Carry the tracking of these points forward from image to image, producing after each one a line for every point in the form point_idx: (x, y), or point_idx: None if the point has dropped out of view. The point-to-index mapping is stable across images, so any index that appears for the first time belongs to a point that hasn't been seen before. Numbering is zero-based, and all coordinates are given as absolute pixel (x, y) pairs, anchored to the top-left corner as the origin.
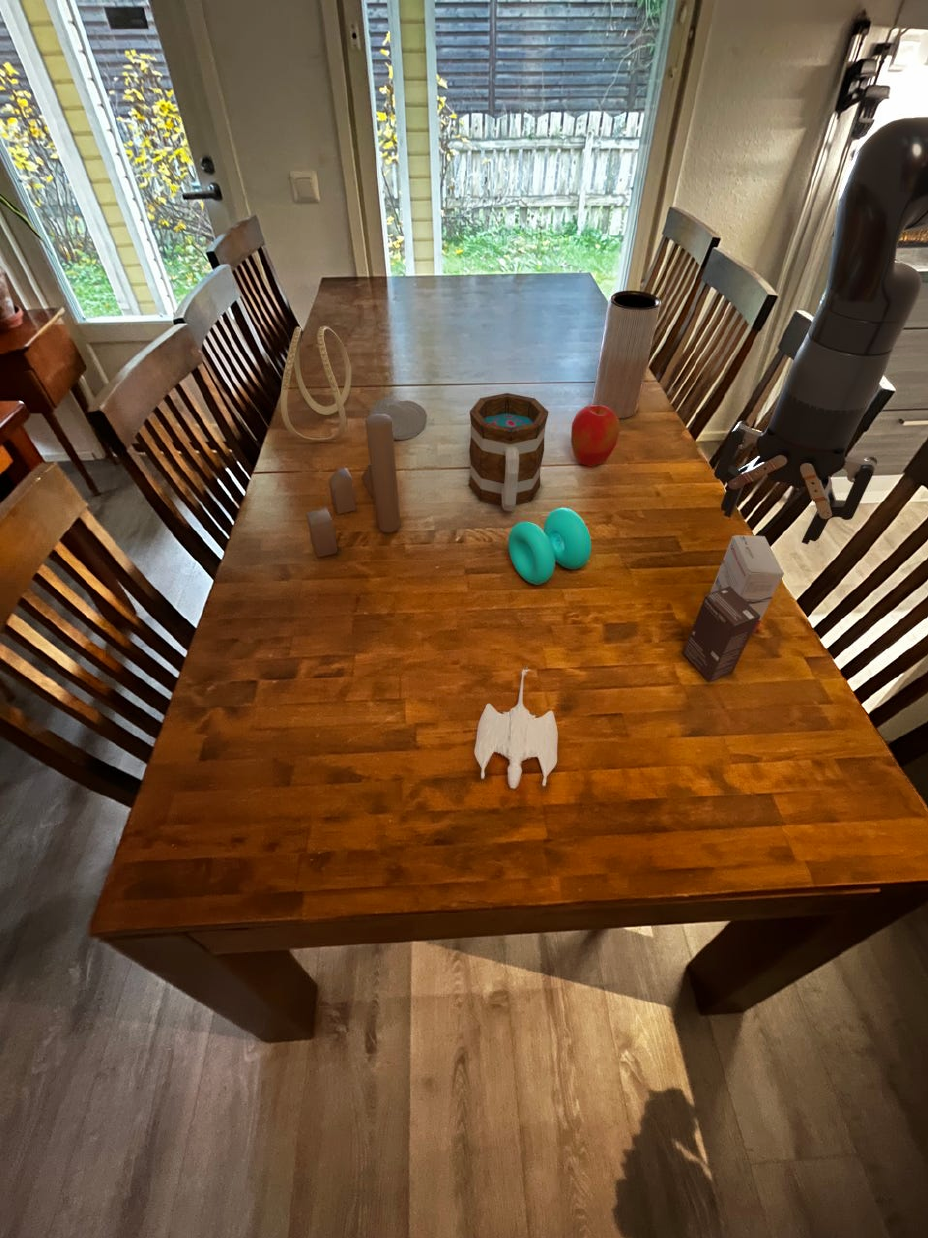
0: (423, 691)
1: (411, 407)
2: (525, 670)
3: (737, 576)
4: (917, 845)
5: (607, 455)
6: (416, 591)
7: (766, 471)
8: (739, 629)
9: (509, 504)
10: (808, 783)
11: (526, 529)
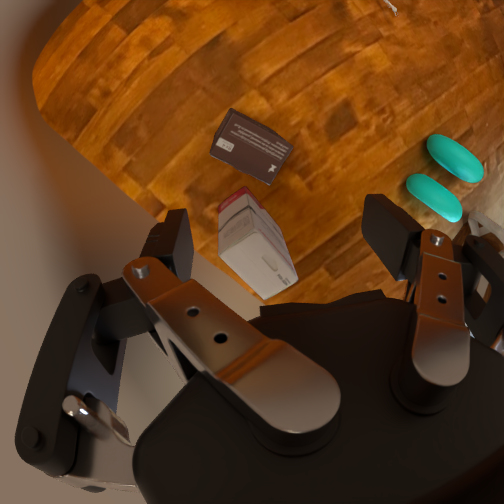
0: None
1: None
2: (395, 10)
3: (266, 232)
4: (34, 89)
5: None
6: (487, 90)
7: (428, 295)
8: (225, 123)
9: (477, 213)
10: (105, 68)
11: (480, 165)
